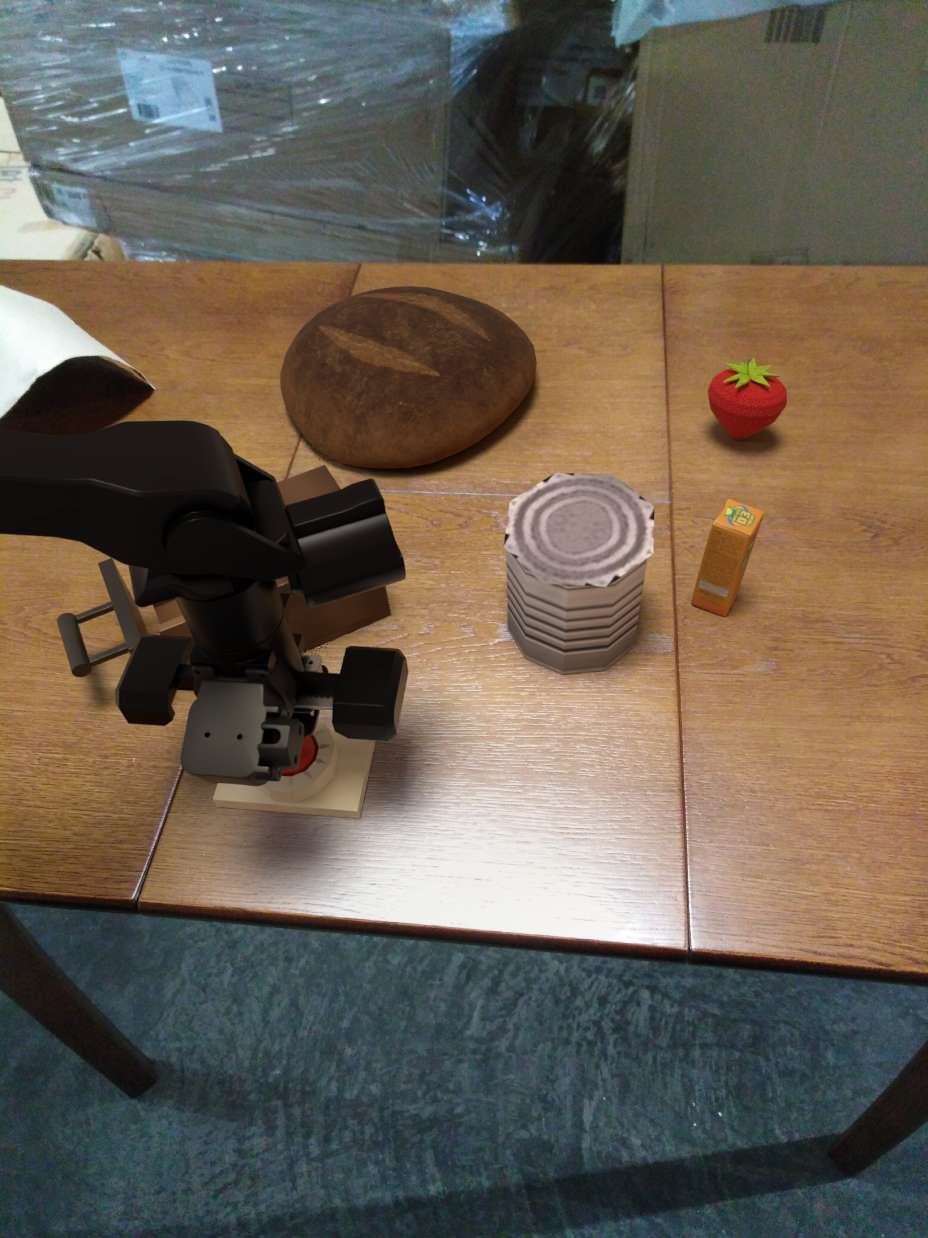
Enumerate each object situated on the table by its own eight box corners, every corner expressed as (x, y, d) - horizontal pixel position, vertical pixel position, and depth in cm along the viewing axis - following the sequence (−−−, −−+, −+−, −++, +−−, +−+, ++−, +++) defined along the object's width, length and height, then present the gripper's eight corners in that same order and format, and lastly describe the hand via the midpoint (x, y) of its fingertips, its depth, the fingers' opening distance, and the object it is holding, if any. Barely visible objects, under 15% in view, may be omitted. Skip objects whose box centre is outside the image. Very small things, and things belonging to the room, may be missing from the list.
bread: (389, 297, 111) (380, 228, 104) (581, 361, 100) (585, 289, 94) (230, 421, 97) (208, 351, 90) (434, 512, 86) (426, 440, 79)
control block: (216, 807, 67) (205, 787, 65) (241, 728, 71) (232, 707, 69) (359, 819, 66) (353, 799, 63) (376, 737, 70) (371, 716, 68)
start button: (265, 781, 67) (260, 769, 65) (277, 740, 69) (272, 728, 68) (312, 785, 66) (308, 773, 65) (322, 743, 68) (318, 731, 67)
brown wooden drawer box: (244, 677, 75) (216, 611, 68) (203, 587, 81) (174, 519, 75) (391, 614, 78) (378, 546, 72) (340, 533, 85) (324, 464, 78)
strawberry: (766, 467, 88) (789, 381, 80) (691, 447, 90) (707, 362, 82) (781, 431, 91) (805, 346, 83) (709, 413, 93) (725, 328, 86)
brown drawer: (99, 725, 71) (65, 675, 66) (72, 637, 77) (39, 584, 72) (300, 640, 76) (283, 587, 71) (260, 562, 82) (241, 508, 77)
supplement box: (728, 619, 76) (750, 536, 68) (689, 605, 77) (707, 521, 69) (742, 593, 78) (765, 509, 70) (704, 579, 79) (723, 495, 71)
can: (668, 624, 76) (688, 522, 67) (574, 700, 71) (581, 603, 62) (572, 554, 82) (578, 451, 72) (479, 620, 77) (473, 520, 68)
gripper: (37, 717, 50) (132, 841, 62) (363, 739, 48) (396, 863, 60) (109, 571, 57) (181, 707, 69) (396, 585, 55) (419, 723, 67)
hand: (289, 750), depth 66 cm, fingers closed, pressing on start button
